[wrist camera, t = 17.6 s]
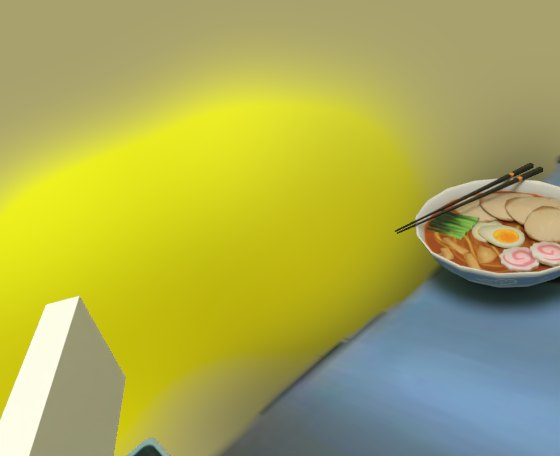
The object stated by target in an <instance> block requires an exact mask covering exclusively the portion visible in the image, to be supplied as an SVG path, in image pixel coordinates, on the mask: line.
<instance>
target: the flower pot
mask: <svg viewBox="0 0 560 456" xmlns="http://www.w3.org/2000/svg"><path fill="white" fill-rule="evenodd" d="M127 456H170V455H169V454H168V452H167V451H166V450H165V449H164V448H163V447H162V446H161V445H160V444H159V442H158V441H157V440H156V439H154V438H148V439H146V440H145V441H143V442H142V443H141V444H139V445H138V446H137V447H136V448H135V449H134V450H132V451H131V452H130V453H129V454H128V455H127Z"/></svg>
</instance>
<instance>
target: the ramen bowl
mask: <svg viewBox="0 0 560 456" xmlns="http://www.w3.org/2000/svg"><path fill="white" fill-rule="evenodd" d="M531 168H533V164H532V163H529V164H527V165H525V166H523V167H521V168H519V169H517V170H515V171H513V172H511V173H510V174H507V175H505V176H503V177H501V178H499V179H488V180H477V181H472V182H468V183H465V184H461V185H458V186H454V187H451V188H448V189H445V190H444V191H442V192H441V193H439V194H437V195H436V196H434V197H432V198H431V199H429V200H428V201H426V203H425V204H424V205H423V207H422V208H421V210H420V211H419V213H418V214H417V215H416V217H415V221H413V222H411V223H410V224H407V225H405V226H403V227H401V228H399V229H398V230H401V229H402V228H405V227H407V226H409V225H411V224H413V223H416V224H414V225H412V226H410V227H408V228H406V229H404V230H402V231H400V232H403V231H405V230H407V229H410V228H412V227H414V226H416V235H417V237H418V238H419V239H420V241H421V242H422V243H423V245H424V246H425V247H426V248H427V250H428V251H429V252H430V253H431V255H432V256H433V257H434V258H435V260H436V261H438V263H440V264H441V265H442V266H443V267H444V268H446V269H448V270H449V271H451V272H453V273H455V274H457V275H459V276H461V277H463V278H465V279H467V280H469V281H471V282H475V283H480V284H484V285H489V286H494V287H498V288H500V287H528V286H532V285H535V284H539V283H542V282H545V281H549V280H552V279H555V278H557V277H560V187H558V186H555V185H551V184H548V183H544V182H541V181H534V180H525V179H527V178H529V177H532V176H534V175H536V174H539V173H541V172H543V168H542V167H538V168H536V169H534V170H532V171H529V172H527V173H525V174H523V175H521V176H519V177H517V178H514V179H513V178H512V177H514V176H516V175H519V174H521V173H523V172H525V171H527V170H529V169H531ZM398 230H396V231H398ZM396 231H395V232H396ZM400 232H397V234H398V233H400Z"/></svg>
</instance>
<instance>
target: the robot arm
mask: <svg viewBox="0 0 560 456" xmlns="http://www.w3.org/2000/svg"><path fill="white" fill-rule="evenodd" d="M125 378H126V377H125V375H124V374H123V372H122V370H121V368H120V367H119V365H118V363H117V361H116V359H115V358H114V356H113V354H112V352H111V351H110V349H109V347H108V345H107V344H106V342H105V340H104V338H103V337H102V335H101V333H100V331H99V329H98V328H97V326H96V324H95V322H94V321H93V319H92V317H91V315H90V314H89V312H88V310H87V308H86V307H85V305H84V303H83V301H82V300H81V298H80V296H77V297H74V298H70V299H67V300H63V301H59V302H55V303H51V304H47V305H46V307H45V309H44V312H43V314H42V317H41V319H40V322H39V324H38V327H37V329H36V332H35V334H34V337H33V339H32V342H31V344H30V347H29V349H28V352H27V355H26V357H25V359H24V362H23V365H22V367H21V370H20V372H19V375H18V378H17V380H16V382H15V385H14V387H13V390H12V392H11V395H10V397H9V400H8V402H7V405H6V408H5V410H4V412H3V415H2V417H1V420H0V456H114V450H115V443H116V437H117V430H118V424H119V417H120V410H121V403H122V398H123V391H124V385H125Z"/></svg>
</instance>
